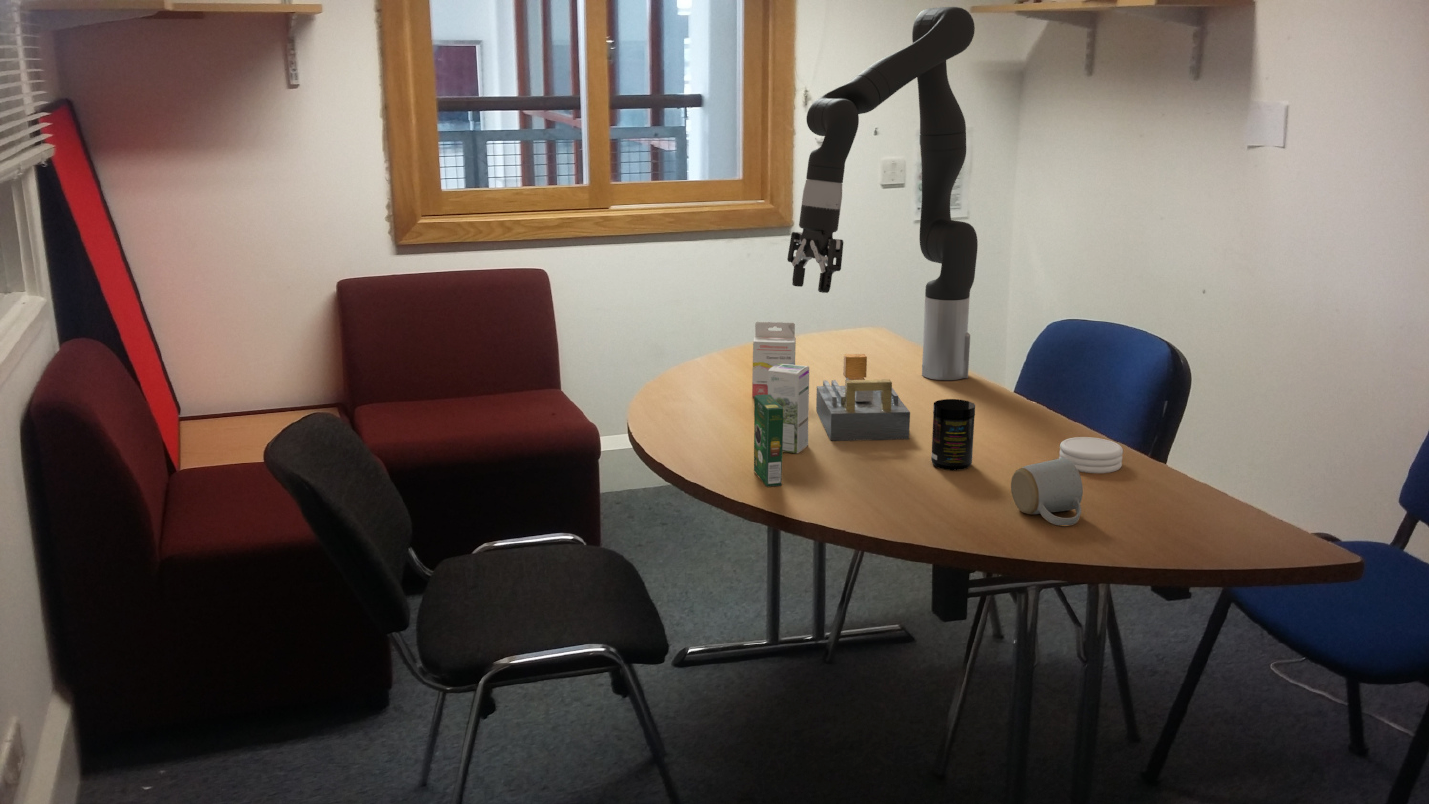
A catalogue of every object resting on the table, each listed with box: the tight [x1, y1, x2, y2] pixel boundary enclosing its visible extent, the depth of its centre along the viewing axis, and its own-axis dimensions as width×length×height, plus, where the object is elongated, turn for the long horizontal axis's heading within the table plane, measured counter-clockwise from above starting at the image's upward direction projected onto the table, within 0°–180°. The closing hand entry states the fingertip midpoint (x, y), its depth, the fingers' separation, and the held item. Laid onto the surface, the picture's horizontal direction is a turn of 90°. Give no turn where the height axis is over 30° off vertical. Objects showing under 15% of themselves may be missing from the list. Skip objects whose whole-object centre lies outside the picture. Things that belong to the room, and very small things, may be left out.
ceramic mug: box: [1010, 457, 1084, 526], centre depth 170 cm, size 11×8×8 cm
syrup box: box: [768, 363, 810, 454], centre depth 200 cm, size 6×6×14 cm
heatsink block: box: [815, 378, 911, 442], centre depth 214 cm, size 14×19×10 cm
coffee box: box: [753, 395, 784, 488], centre depth 185 cm, size 8×3×13 cm, turn 13°
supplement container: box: [930, 398, 976, 471], centre depth 191 cm, size 7×7×10 cm
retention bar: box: [842, 353, 873, 402], centre depth 216 cm, size 4×12×6 cm, turn 3°
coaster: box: [1058, 436, 1124, 474], centre depth 193 cm, size 10×10×4 cm
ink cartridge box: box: [751, 321, 797, 398], centre depth 234 cm, size 9×5×15 cm, turn 84°
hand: (810, 289), depth 226 cm, fingers open, 8 cm apart
